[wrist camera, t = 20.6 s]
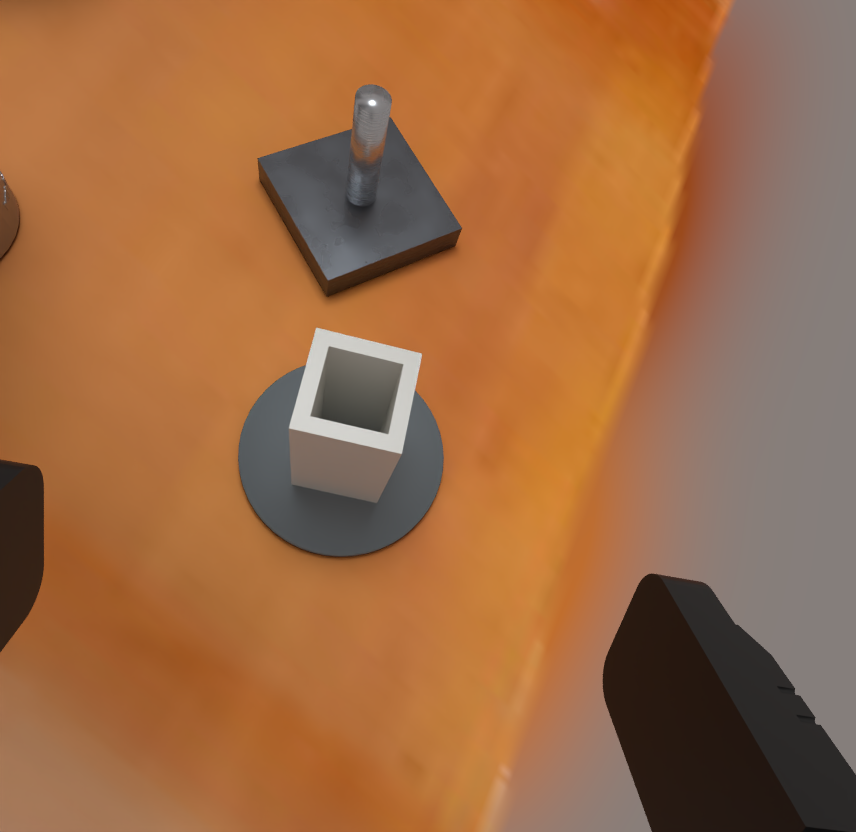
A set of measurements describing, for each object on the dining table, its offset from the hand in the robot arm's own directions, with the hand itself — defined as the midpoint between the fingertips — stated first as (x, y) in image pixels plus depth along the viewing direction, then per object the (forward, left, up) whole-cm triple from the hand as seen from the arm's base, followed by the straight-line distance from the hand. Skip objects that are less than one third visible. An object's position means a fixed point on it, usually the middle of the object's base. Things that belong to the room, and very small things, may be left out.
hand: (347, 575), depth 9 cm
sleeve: (+6, +8, -28) cm, 30 cm away
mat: (+6, +8, -29) cm, 30 cm away
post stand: (+15, +23, -29) cm, 40 cm away
